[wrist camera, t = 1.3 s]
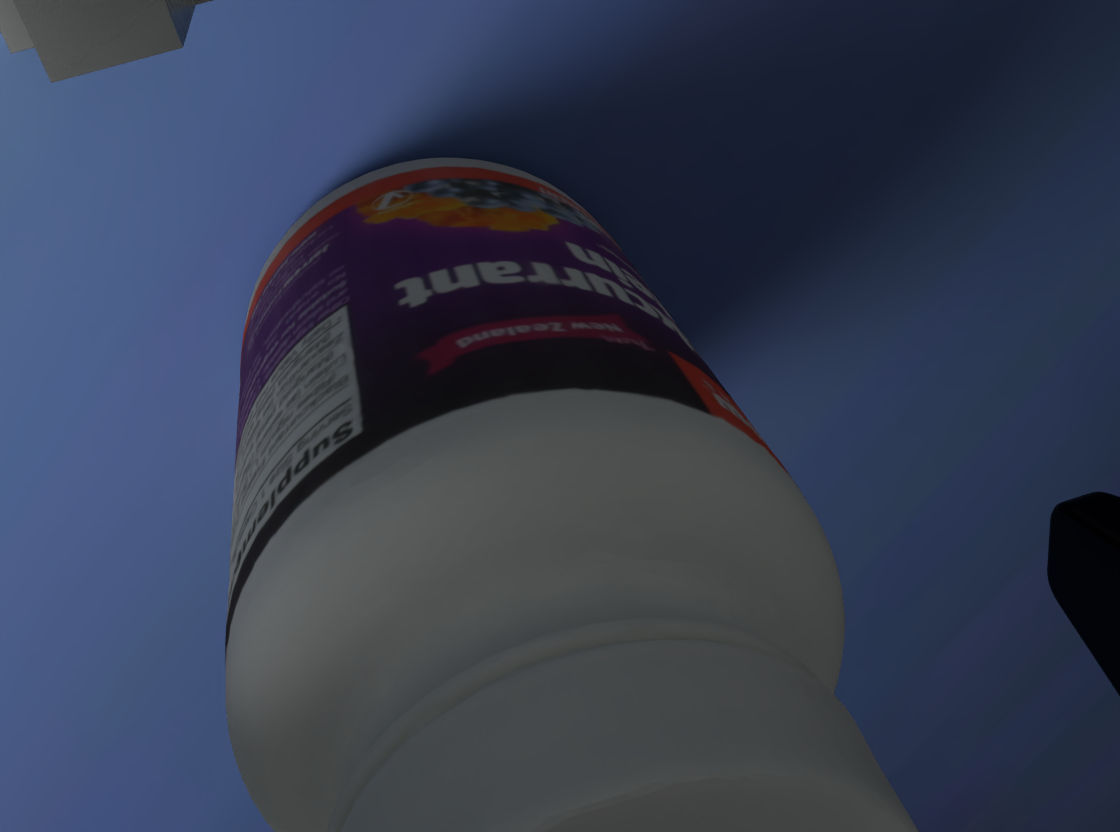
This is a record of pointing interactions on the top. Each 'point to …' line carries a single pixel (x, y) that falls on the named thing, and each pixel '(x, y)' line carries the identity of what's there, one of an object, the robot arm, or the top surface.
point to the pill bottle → (516, 542)
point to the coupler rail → (94, 31)
